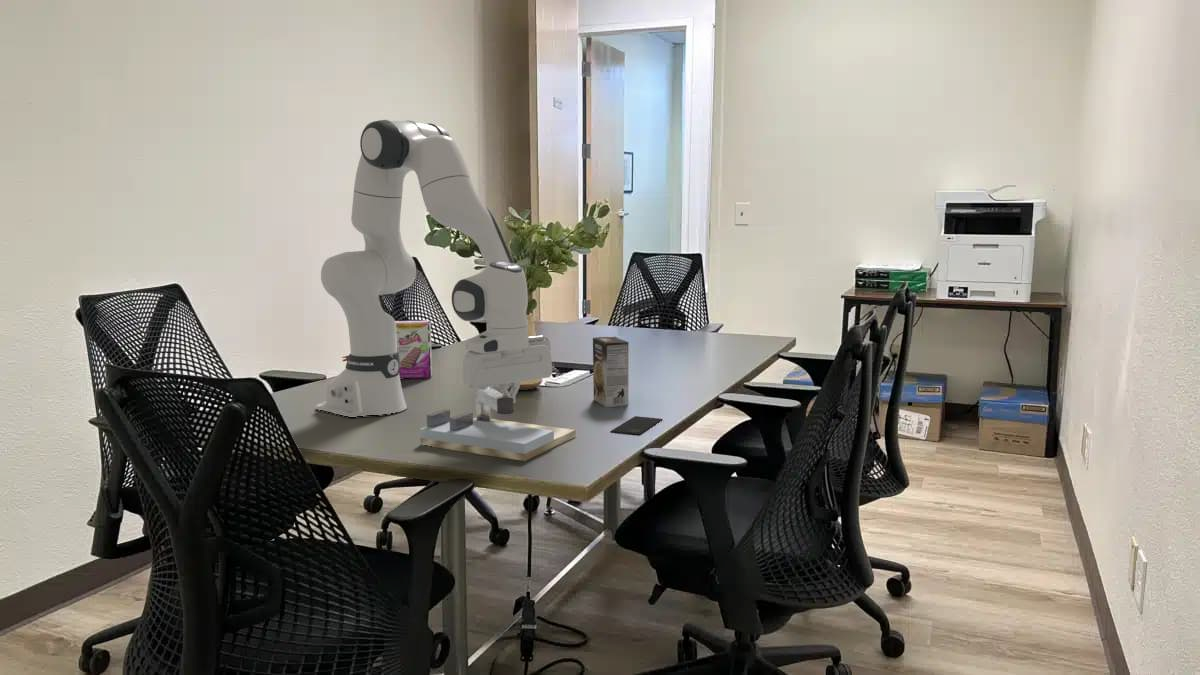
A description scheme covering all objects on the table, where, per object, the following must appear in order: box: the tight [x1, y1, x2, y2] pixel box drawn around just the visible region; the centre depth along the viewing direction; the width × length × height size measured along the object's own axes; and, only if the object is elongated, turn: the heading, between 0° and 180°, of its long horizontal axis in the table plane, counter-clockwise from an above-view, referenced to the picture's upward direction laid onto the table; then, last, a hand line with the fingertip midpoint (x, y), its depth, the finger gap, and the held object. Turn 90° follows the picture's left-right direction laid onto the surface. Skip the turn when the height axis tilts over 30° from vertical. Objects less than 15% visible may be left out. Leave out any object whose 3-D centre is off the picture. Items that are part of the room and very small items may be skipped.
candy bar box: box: [395, 320, 433, 380], centre depth 255 cm, size 11×5×16 cm, turn 97°
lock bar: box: [474, 386, 515, 422], centre depth 191 cm, size 18×3×8 cm, turn 26°
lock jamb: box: [419, 408, 577, 462], centre depth 188 cm, size 26×20×6 cm
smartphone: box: [609, 415, 664, 437], centre depth 200 cm, size 7×1×15 cm
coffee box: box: [592, 336, 630, 408], centre depth 221 cm, size 9×6×16 cm
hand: (509, 403), depth 189 cm, fingers closed
